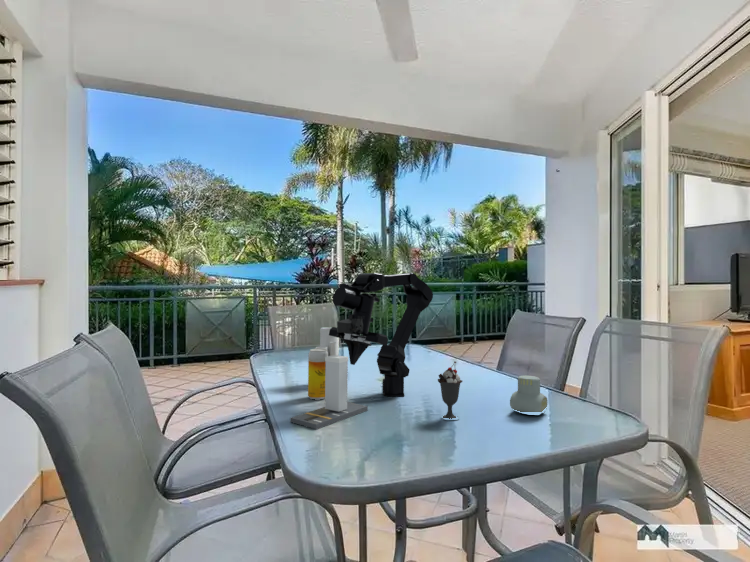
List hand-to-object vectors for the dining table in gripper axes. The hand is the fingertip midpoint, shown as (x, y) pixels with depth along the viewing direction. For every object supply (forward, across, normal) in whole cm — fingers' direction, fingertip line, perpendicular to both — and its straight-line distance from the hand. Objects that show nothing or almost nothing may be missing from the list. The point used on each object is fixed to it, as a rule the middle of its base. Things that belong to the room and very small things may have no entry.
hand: (352, 364), depth 131 cm
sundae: (+9, +30, +7) cm, 32 cm away
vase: (+9, -22, +17) cm, 29 cm away
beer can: (+12, -12, +2) cm, 18 cm away
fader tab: (+12, +4, -8) cm, 15 cm away
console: (+14, +4, -10) cm, 18 cm away
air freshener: (+4, +45, +25) cm, 52 cm away
